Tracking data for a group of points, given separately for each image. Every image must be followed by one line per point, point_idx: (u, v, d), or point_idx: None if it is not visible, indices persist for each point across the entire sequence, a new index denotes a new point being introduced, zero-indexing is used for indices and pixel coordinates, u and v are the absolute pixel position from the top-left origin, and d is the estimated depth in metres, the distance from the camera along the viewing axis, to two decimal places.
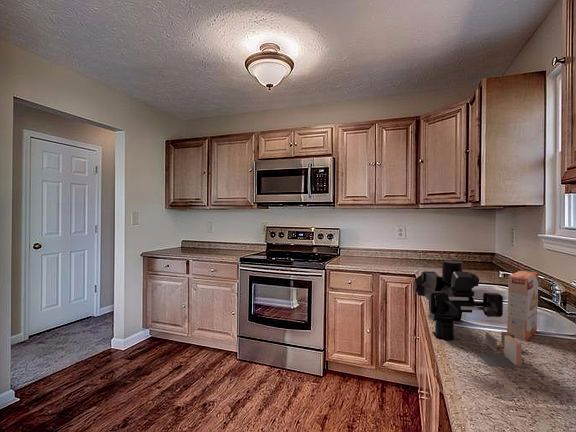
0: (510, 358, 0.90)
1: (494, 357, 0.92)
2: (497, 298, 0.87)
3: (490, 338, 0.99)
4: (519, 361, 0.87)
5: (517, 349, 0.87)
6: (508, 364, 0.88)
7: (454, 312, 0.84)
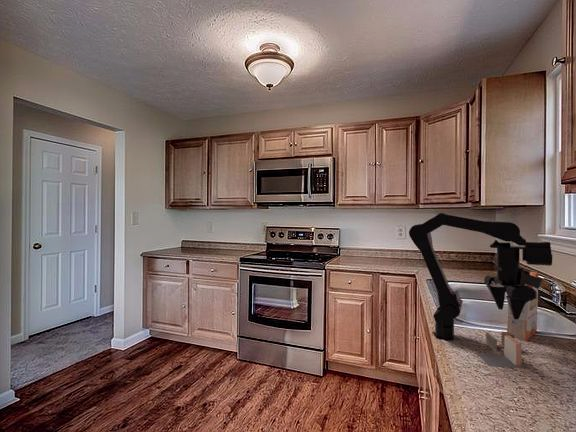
0: (510, 358, 0.90)
1: (494, 357, 0.92)
2: None
3: (490, 338, 0.99)
4: (519, 361, 0.87)
5: (517, 349, 0.87)
6: (508, 364, 0.88)
7: (515, 315, 0.93)
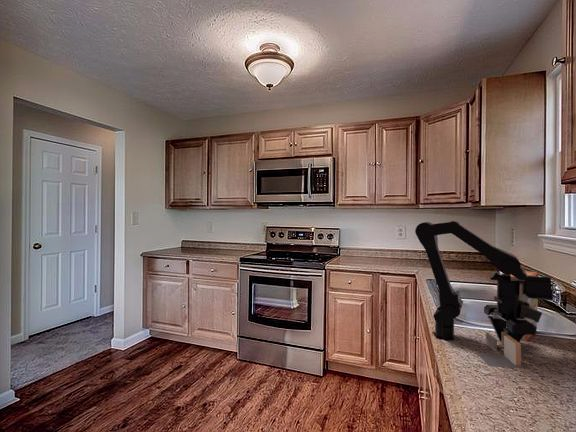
0: (510, 358, 0.90)
1: (494, 357, 0.92)
2: None
3: (490, 338, 0.99)
4: (519, 361, 0.87)
5: (517, 349, 0.87)
6: (508, 364, 0.88)
7: None
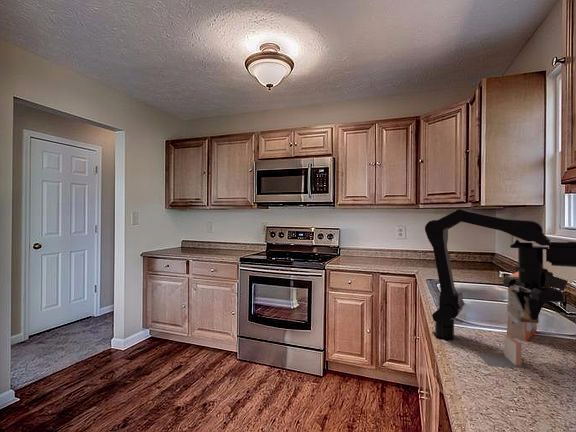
0: (510, 358, 0.90)
1: (494, 357, 0.92)
2: None
3: (513, 310, 0.93)
4: (519, 361, 0.87)
5: (517, 349, 0.87)
6: (508, 364, 0.88)
7: (533, 315, 0.91)
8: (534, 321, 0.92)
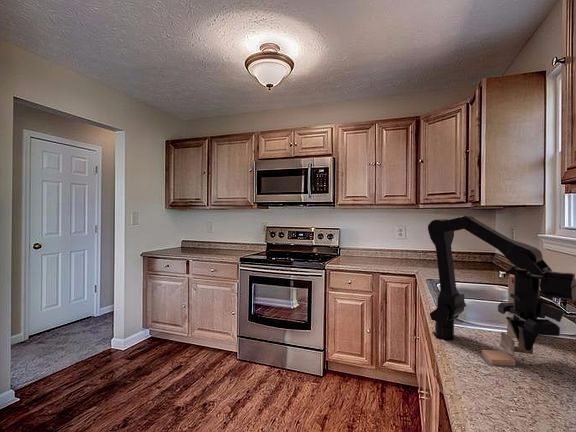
0: None
1: None
2: None
3: (506, 339, 0.90)
4: (510, 362, 0.87)
5: (497, 363, 0.88)
6: None
7: (527, 346, 0.88)
8: (528, 352, 0.88)
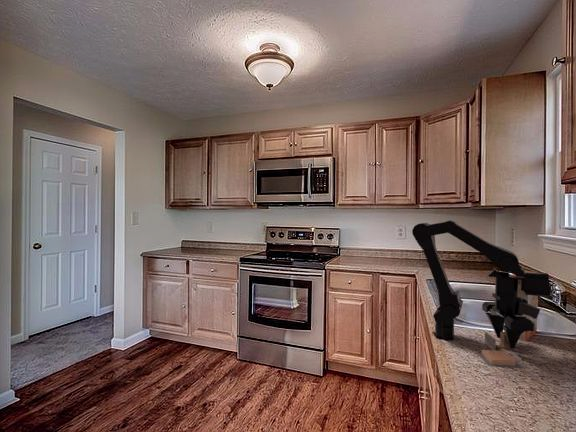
0: None
1: None
2: None
3: (489, 338, 0.99)
4: (510, 362, 0.87)
5: (497, 363, 0.88)
6: None
7: (511, 344, 0.94)
8: None
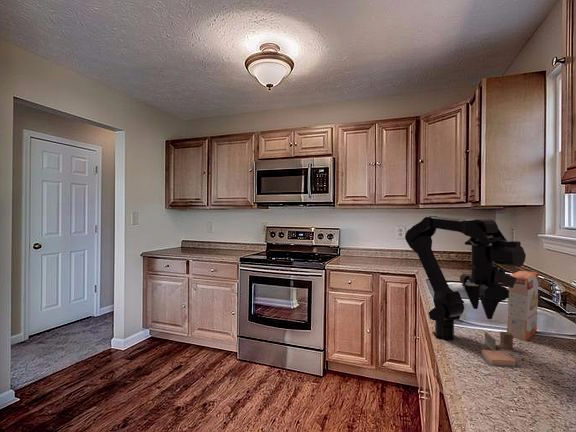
0: None
1: None
2: None
3: (489, 338, 0.99)
4: (510, 362, 0.87)
5: (497, 363, 0.88)
6: None
7: (488, 315, 0.90)
8: None
